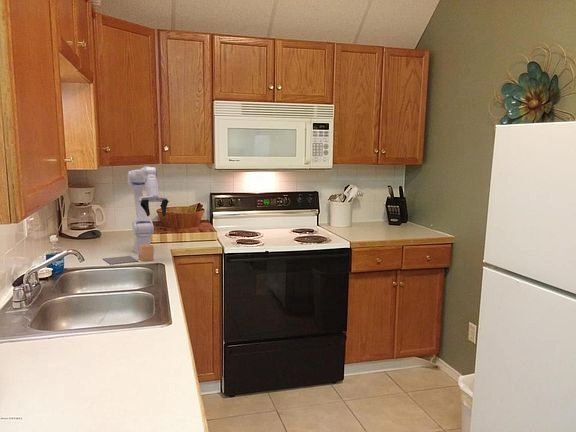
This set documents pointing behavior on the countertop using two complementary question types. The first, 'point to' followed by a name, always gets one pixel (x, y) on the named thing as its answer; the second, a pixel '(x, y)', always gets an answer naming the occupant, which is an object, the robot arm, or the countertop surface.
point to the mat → (120, 260)
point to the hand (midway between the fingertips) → (156, 215)
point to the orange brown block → (145, 252)
